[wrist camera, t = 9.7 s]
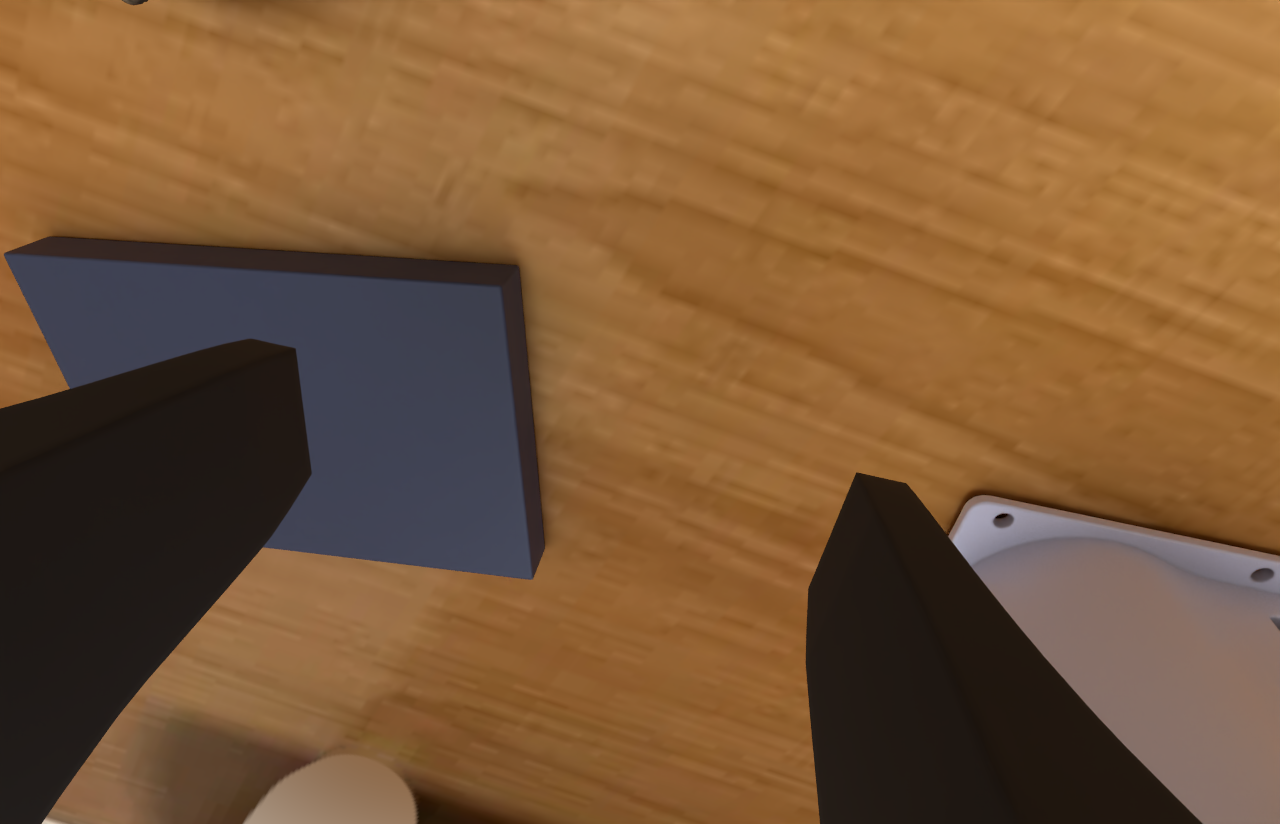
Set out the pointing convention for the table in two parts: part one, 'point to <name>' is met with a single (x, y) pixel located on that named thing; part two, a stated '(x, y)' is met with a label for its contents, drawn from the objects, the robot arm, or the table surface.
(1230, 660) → the robot arm
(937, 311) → the table surface
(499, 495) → the notebook
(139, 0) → the fossilized seashell
